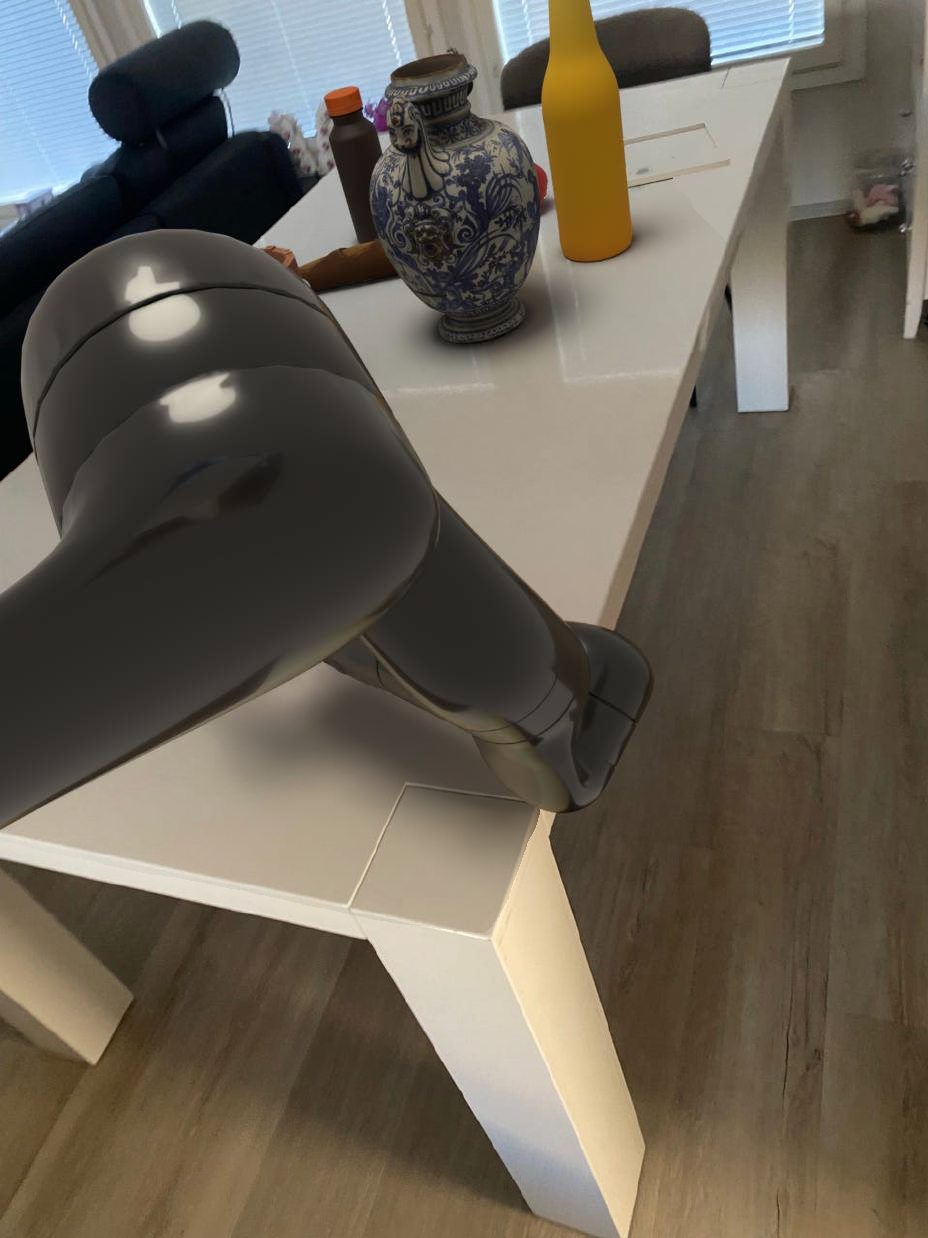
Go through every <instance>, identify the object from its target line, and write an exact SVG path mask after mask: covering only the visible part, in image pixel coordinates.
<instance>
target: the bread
mask: <svg viewBox="0 0 928 1238" xmlns="http://www.w3.org/2000/svg"><path fill="white" fill-rule="evenodd" d="M298 267H299V270H300V273H301V276H302V279H304V280H306V281H307V282H308V283H309V285H310V287H311V289H312V290H313V291H314V292H316V291H321V290H327V289H331V288H336V287H337V288H338V287H342V286H347V285H352V284H357V283H361V282H367V281H370V280H374V279H375V280H376V279H379V278H384V277H389V276H394V275H399V274H398V273H397V272H396V270H395V268H394V267H393V265H392V264H391V262H390V260H389V258H388V257H387V255H386V253H385V251H384V249H383V246H382V244H381V242H380V239H379V238H378V239H375V240H374V241H373V242H368V243H364V244H359V243H358V244H356V245H353V246H349V247H340V248H337V249H334V250H332V251H330V252H329V253H328V254H327V255H325V256H321V257H319V258H317V259H314V260H312V261H310V262H307V263H305V264H303V265H300V266H298Z"/></svg>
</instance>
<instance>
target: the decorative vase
mask: <svg viewBox="0 0 928 1238" xmlns="http://www.w3.org/2000/svg"><path fill="white" fill-rule="evenodd" d="M478 75H479V73H478V70H477V68H476V66H474V65H473V64H471V63H468V60H467V57H466V56H465V54H464V53H460V52H459V50H458V49H457V48H456V47H453V46H452V47H451V46H450V47H448V48H447V49H446V51H445V53H443V54H436V55H432V56H426V57H422V58H420V59H417V60H413V61H410V62H408V63H405V64H403V65H401V66H399V67H397V68H396V69H395V70H393V71H392V72H391V73H390V76H389V77H390V83H389V84H388V85H387V86H386V87H385V89H384V94H383V95H384V98H385V99H386V100H387V101H390V102H392V105H391V107H390V108H386V111H385V123H386V128H387V133H388V136H389V141H390V144H389V146H387V148H386V149H385V151H384V152H382V153H383V155H382V156H381V157H380V159H379V160H378V162H377V163H376V165H375V168H374V170H373V173H372V177H371V182H370V189H369V196H370V206H371V212H372V216H373V221H374V224H375V228H376V231H377V234H378V237H379V239H380V242H381V244H382V246H383V249H384V251H385V253H386V255H387V257H388V258H389V260H390V262H391V264H392V265H393V267H394V268H395V270H396V272H397V273H398V274H397V275H398V276H399V278H400V279H401V280H402V282H403V283H404V284H405V285H406V286H407V288H408V289H409V290H410V292H412V293H413V295H414V296H416V298H418V299H419V301H421V302H422V303H423V304H424V305H426V306H427V307H428V308H430V309H432V310H434V311H436V312H438V313H439V314H443V315H442V316H441V318H440V319H439V324H438V331H439V334H440V336H441V337H442V338H443V339H444V340H446V341H448V342H450V343H455V344H472V343H473V344H474V343H475V344H476V343H481V342H487V341H490V340H493V339H496V338H498V337H501V336H503V335H506V334H507V333H509V332H511V331H513V330H514V329H516V328H517V327H518V326H519V325H521V323H522V322H523V321H524V319H525V316H526V309H525V308H526V307H525V305H524V303H523V302H522V301H521V300H520V299H519V298H517V297H515V296H516V295H517V293H518V292H519V291H520V289H521V288H522V287H523V285H524V284H525V282H526V280H527V278H528V276H529V273H530V271H531V268H532V266H533V262H534V259H535V255H536V252H537V246H538V241H539V235H540V229H541V214H542V213H541V212H542V211H541V210H542V208H541V204H540V191H539V184H538V178H537V173H536V169H535V165H534V163H535V162H534V159H533V156H532V154H531V151H530V149H529V147H528V145H527V144H526V142H525V141H524V139H523V138H522V137H521V136H520V134H518V133H517V132H516V131H515V130H514V129H513V128H512V127H511V126H509V125H507V124H506V123H504V122H501V121H498V120H495V119H490V118H484V117H480V116H479V115H478V114H476V113H474V112H472V111H471V109H472V103H471V101H470V100H469V99H468V97H469V96H470V95H471V93H472V91H473V89H474V81H475V79H477V78H478Z"/></svg>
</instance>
